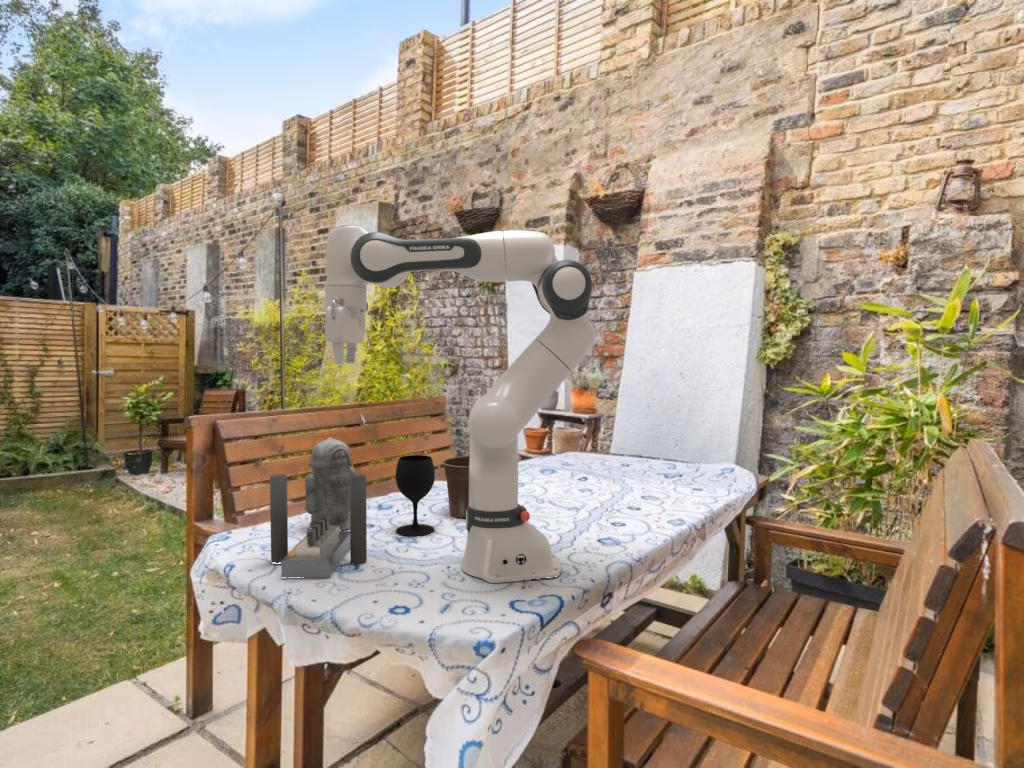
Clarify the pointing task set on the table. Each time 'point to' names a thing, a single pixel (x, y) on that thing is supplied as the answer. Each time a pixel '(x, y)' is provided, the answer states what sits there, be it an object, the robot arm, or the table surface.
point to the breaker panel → (317, 562)
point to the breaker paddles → (318, 529)
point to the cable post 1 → (278, 517)
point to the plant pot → (457, 484)
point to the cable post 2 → (358, 519)
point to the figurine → (329, 483)
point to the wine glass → (415, 488)
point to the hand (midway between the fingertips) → (345, 363)
